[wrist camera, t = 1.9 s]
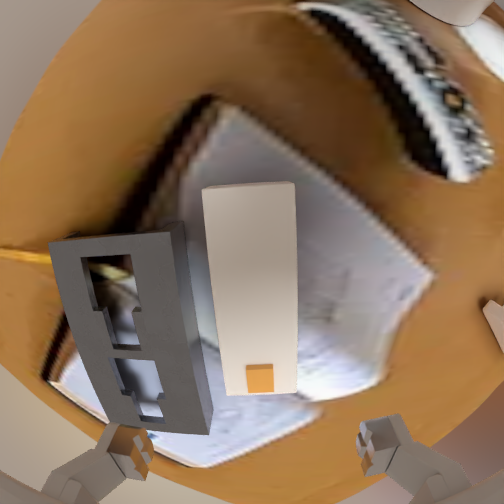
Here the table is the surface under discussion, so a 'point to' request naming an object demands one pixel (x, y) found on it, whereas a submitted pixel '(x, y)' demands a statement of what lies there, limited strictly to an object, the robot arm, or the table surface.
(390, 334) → the table surface
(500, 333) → the cable organizer
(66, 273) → the keyhole plate
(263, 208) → the power strip
